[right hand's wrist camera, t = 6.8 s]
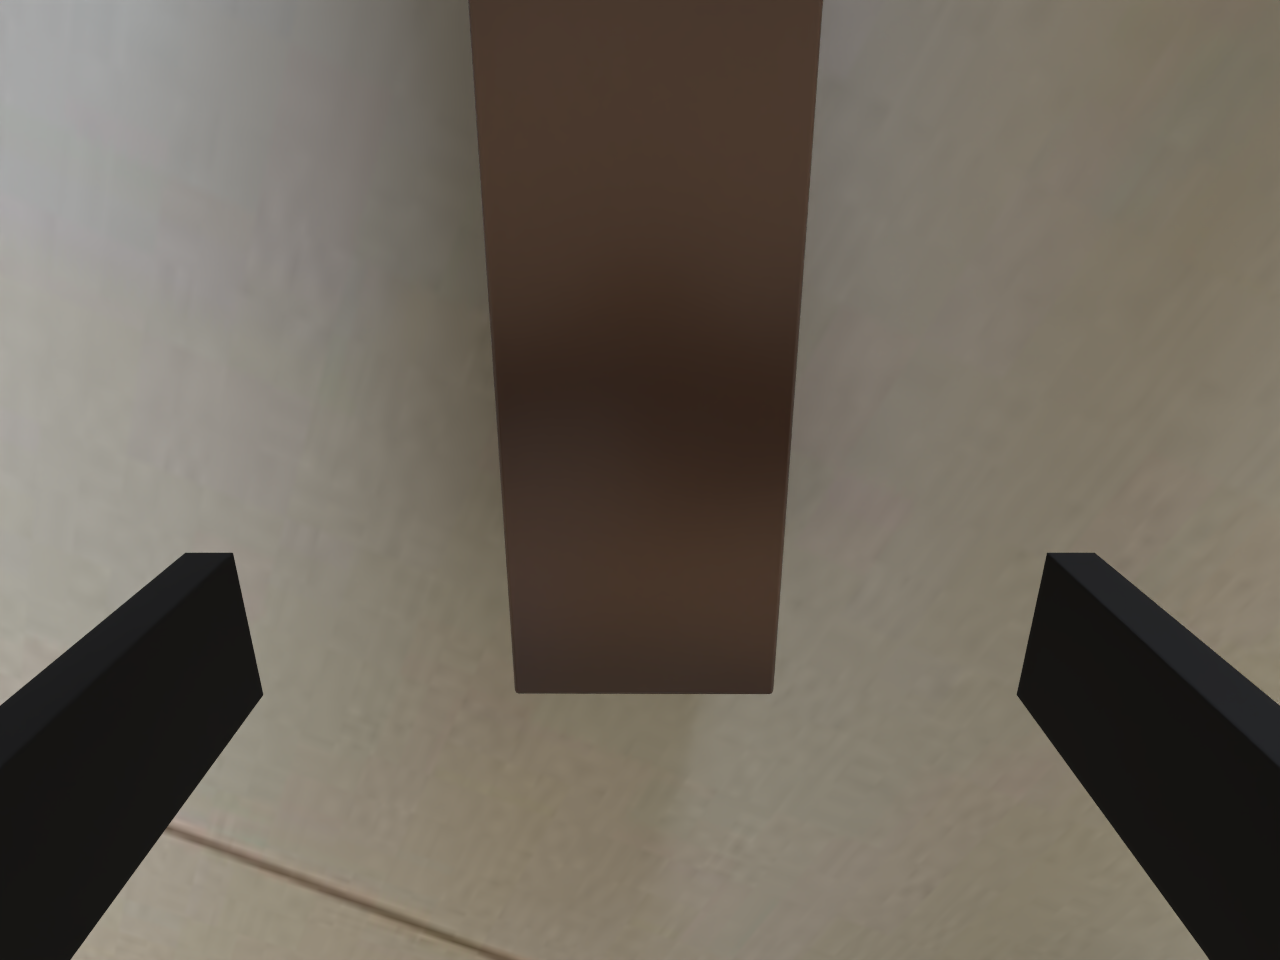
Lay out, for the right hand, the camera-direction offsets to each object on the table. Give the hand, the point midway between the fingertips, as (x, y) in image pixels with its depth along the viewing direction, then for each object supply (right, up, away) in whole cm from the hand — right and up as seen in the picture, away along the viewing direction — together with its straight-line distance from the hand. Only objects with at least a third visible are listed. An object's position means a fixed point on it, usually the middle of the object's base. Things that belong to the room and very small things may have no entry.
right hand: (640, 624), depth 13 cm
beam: (0, +16, +7) cm, 17 cm away
